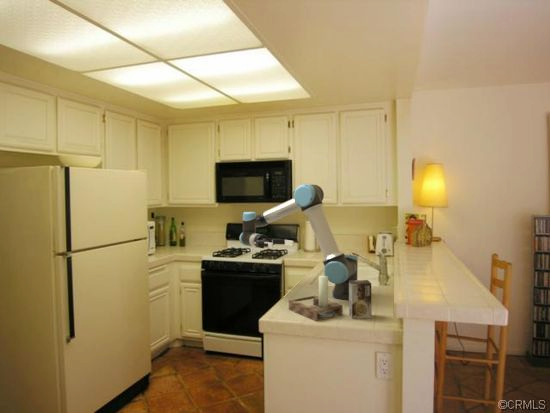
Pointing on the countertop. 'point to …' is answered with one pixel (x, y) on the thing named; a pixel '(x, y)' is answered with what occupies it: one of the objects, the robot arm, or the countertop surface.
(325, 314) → the cream rod gray base
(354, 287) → the coffee box
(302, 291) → the countertop surface
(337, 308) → the brown square frame
